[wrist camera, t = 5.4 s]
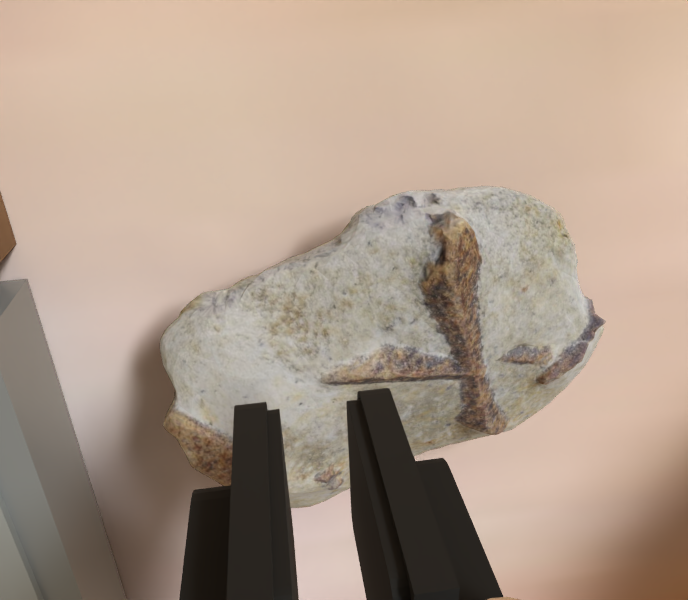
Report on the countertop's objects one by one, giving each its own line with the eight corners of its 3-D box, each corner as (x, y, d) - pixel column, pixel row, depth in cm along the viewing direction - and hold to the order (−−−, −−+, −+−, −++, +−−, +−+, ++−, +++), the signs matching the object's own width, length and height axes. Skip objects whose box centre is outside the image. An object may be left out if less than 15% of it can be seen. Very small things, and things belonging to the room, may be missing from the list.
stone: (517, 101, 16) (587, 130, 13) (584, 352, 20) (646, 415, 18) (110, 305, 16) (91, 378, 13) (268, 506, 21) (279, 592, 18)
